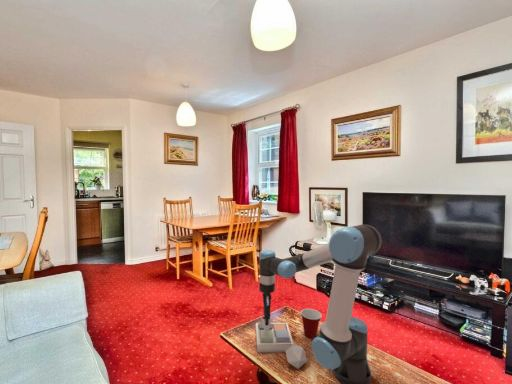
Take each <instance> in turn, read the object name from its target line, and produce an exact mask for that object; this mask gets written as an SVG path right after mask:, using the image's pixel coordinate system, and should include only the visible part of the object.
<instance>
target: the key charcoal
mask: <svg viewBox="0 0 512 384" xmlns="http://www.w3.org/2000/svg"><path fill="white" fill-rule="evenodd" d="M258 323H259V329H260V330H264V320H261V321H258ZM271 323H272V322H271V320H270V326H269V330H272V327H271Z"/></svg>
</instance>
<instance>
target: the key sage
mask: <svg viewBox="0 0 512 384" xmlns="http://www.w3.org/2000/svg"><path fill="white" fill-rule="evenodd" d="M260 339H261V343H274V337H273V332H272V330H269V331H264V330H260Z"/></svg>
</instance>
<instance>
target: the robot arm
mask: <svg viewBox="0 0 512 384" xmlns="http://www.w3.org/2000/svg"><path fill="white" fill-rule="evenodd" d="M381 246H382V236H381V233H380V232H379V231H378V230H377V228H376V227H374V226H372V225H370V224H359V225H354V226H346V227H345V226H344V227H341V228H340V229H337V230H336V231H334V232H333V233H332V235H331V236H330V238H329V241H328V243H326V244H323V245H321V246H319V247H316V248H314V249H312V250H311V249H310V250H309V251H308V250H307V251H306V252H303V253H300V254H297V255H294V256H290V257H285V258H280V257H276V251H274V250H272V249H265V250H261V251H260V252H259V259H258V260H259V261H258V262H259V270H258V271H259V275H258V276H257V278H259V279H258V280H259V283H258V284H259V285H258V286H259V287H258V288H259V289H258V290H259V292H261V293H262V303H263V316H262V319H263V321H264V331H269V326H270V321H271V304H272V294H271V293H274V292H275V291H276V289H275V288H276V284H275V283H276V276H278V277H280V278H283V279H292V278H293V277H295V275H296V273H299V272H303V271H308V270H309V269H312V268H315V267H317V266H318V267H319V266H322V265H324V264H325V265H326V264H328V263H332V262H333V263H334V265H335V267H334V272H333V273H334V274H333V277H332V283H331V284H332V285H331V288H330V289H331V290H330V294H329V295H330V296H329V300H328V306H327V312H326V318H325V321H322V323H321V324H320V327H319V334H318V336H316V337H315V338H313V340H312V342H311V350H312V354H313V356H314V358H315V360H316V361H317V362H318V364H319V365H320V366H322V368H324V369H327V370H329V371H330V370H331V371H332V373H333V374H332V375H334V377H335V379H336V380H338V381H339V382H340V383H342V384H370V383H371V381H372V370H371V369H370V364H369V362H368V334H369V331H368V325H367V323H366V322H365V321H364V320H362V319H360V318H357V317H355V316H352V314H353V309H354V304H355V299H356V294H357V288H358V285H359V278H360V273H361V272H362V271H364V270H365V269H366V266H367V262H368V257H369V256H372V255H374V254H376V253H377V252H378V251H379V250H380V248H381Z"/></svg>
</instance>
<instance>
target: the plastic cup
mask: <svg viewBox="0 0 512 384" xmlns="http://www.w3.org/2000/svg"><path fill="white" fill-rule="evenodd" d="M300 315H301V321H302V327H303V331H304V332H303V333H304V336H305V337H306V338H307V339H315V338H316V337H317V333H318V330H319V325H320V320H321V318H322V316H323V314H322V313H321V312H320V311H318V310H317V309H316V310H315V309H314V308H304V309H302V310H301V311H300Z"/></svg>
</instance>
